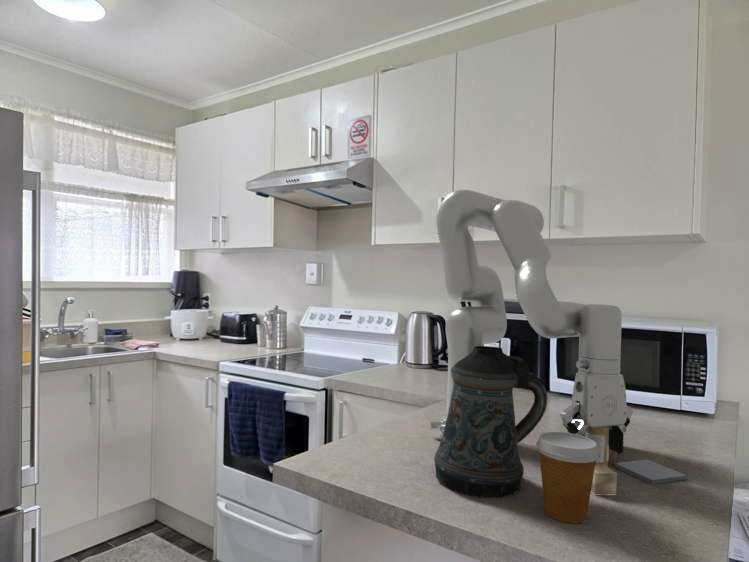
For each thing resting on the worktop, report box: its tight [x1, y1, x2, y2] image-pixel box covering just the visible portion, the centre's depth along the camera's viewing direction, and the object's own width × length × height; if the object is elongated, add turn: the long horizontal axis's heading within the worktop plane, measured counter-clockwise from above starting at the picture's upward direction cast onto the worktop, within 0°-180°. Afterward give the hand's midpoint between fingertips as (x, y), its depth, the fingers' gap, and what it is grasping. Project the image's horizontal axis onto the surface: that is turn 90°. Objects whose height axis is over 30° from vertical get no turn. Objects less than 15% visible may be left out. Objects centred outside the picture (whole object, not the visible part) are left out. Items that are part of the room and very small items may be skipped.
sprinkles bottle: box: [585, 426, 609, 468], centre depth 95 cm, size 5×5×14 cm
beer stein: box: [433, 345, 548, 499], centre depth 91 cm, size 16×19×25 cm
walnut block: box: [608, 449, 618, 467], centre depth 103 cm, size 4×4×4 cm
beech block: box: [591, 465, 618, 496], centre depth 88 cm, size 4×4×4 cm
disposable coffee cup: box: [535, 431, 600, 524], centre depth 78 cm, size 10×10×12 cm
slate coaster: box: [614, 459, 688, 485], centre depth 97 cm, size 9×9×1 cm
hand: (596, 453), depth 95 cm, fingers open, 9 cm apart
